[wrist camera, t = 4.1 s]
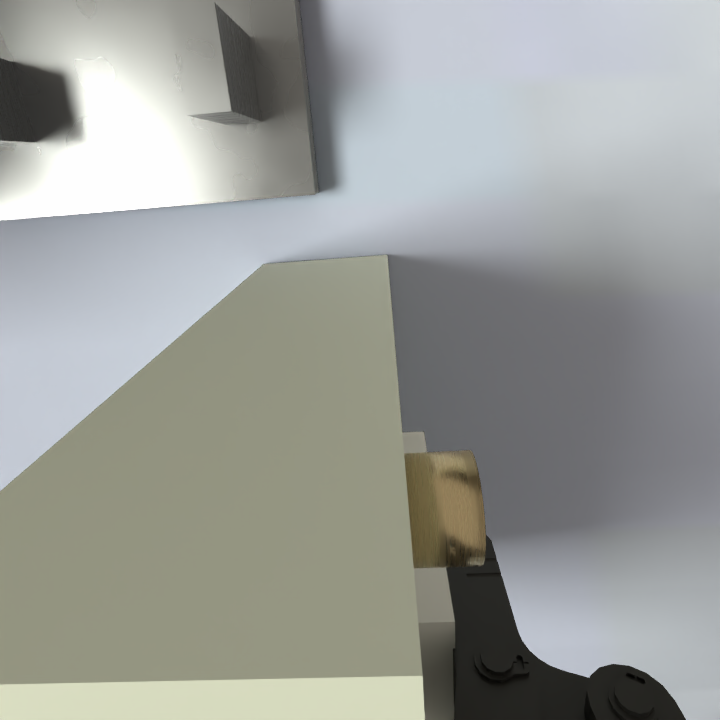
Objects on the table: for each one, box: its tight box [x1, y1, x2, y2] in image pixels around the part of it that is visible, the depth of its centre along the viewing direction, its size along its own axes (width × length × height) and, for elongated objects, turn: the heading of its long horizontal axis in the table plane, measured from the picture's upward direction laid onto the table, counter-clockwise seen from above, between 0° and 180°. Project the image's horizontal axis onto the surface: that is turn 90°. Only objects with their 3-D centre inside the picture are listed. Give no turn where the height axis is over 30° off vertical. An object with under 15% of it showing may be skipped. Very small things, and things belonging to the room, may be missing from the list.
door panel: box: [0, 255, 486, 720], centre depth 12 cm, size 12×5×14 cm, turn 5°
